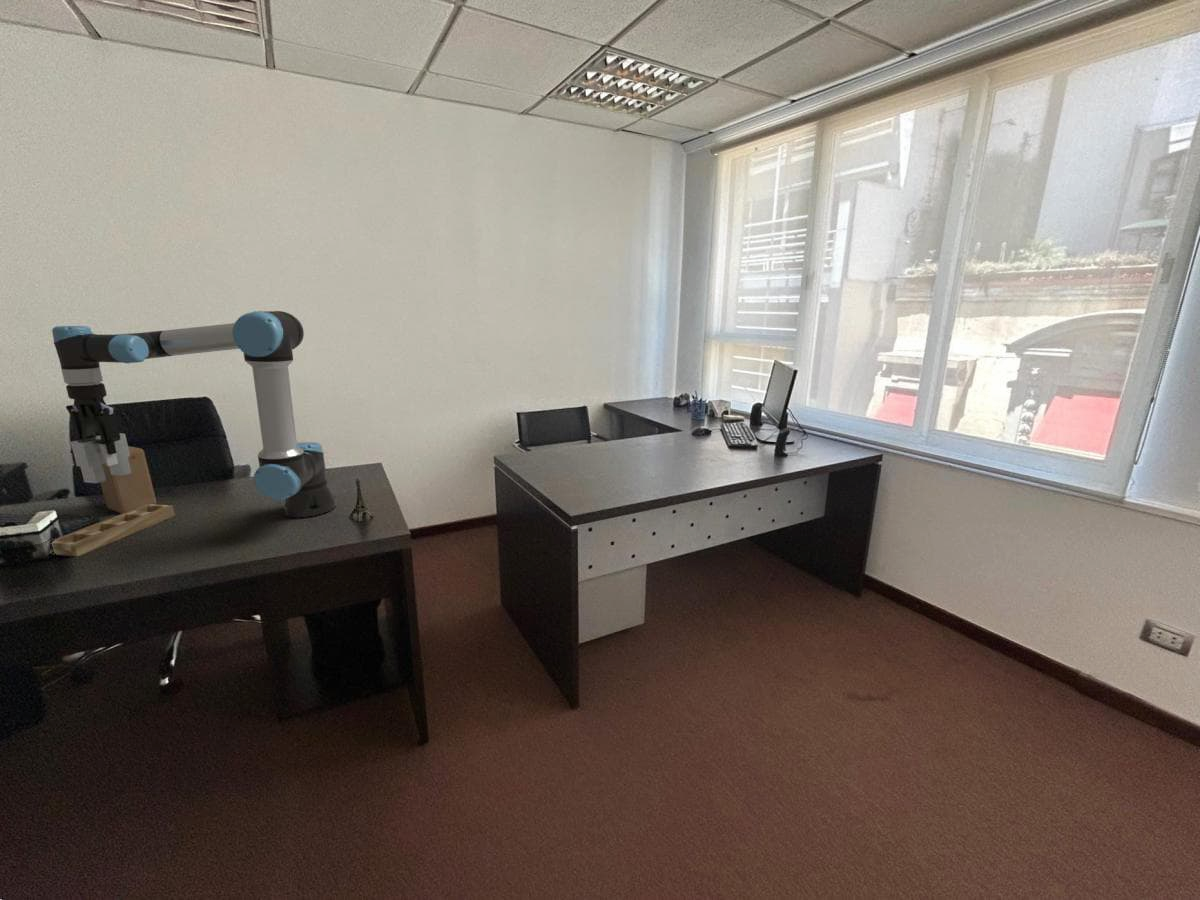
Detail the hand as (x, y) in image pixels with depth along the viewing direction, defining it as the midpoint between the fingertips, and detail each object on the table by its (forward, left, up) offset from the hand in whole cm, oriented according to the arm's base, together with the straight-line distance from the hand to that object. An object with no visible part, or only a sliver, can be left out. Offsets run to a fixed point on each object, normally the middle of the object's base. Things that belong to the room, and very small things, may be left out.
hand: (105, 463), depth 145 cm
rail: (+1, +1, -22) cm, 22 cm away
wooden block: (+17, -17, -22) cm, 33 cm away
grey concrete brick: (0, 0, -4) cm, 4 cm away
